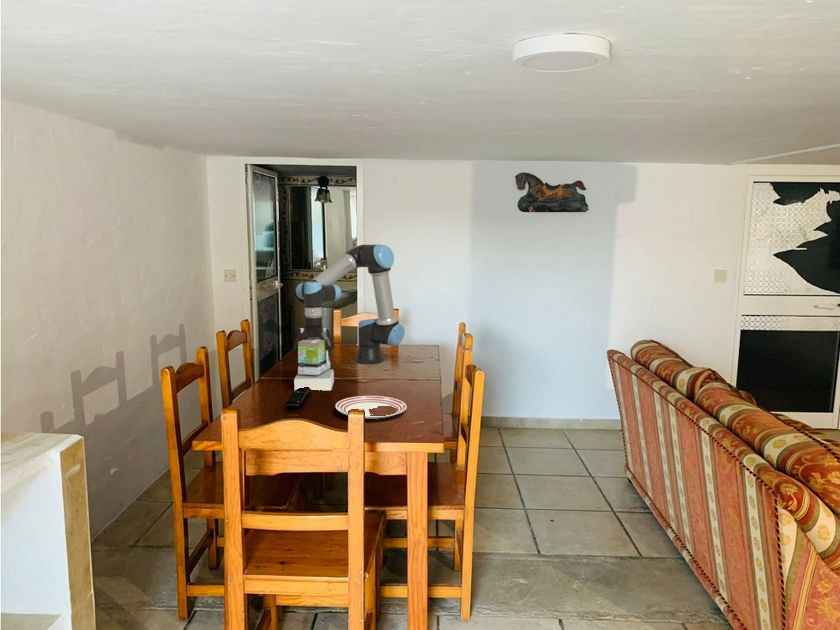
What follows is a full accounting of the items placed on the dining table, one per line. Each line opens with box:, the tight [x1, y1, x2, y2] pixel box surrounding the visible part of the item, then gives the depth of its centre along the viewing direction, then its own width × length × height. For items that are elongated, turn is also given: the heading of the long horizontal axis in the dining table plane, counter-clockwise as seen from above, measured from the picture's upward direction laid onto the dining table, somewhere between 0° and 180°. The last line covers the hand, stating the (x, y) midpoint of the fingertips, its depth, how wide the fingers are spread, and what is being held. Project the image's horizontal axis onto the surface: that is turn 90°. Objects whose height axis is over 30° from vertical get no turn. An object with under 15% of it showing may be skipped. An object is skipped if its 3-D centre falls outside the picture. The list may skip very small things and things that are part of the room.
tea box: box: [297, 336, 331, 375], centre depth 258 cm, size 15×10×15 cm, turn 169°
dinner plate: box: [334, 395, 408, 420], centre depth 221 cm, size 28×27×3 cm
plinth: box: [293, 368, 335, 392], centre depth 260 cm, size 16×16×6 cm
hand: (314, 364), depth 259 cm, fingers closed on tea box, 11 cm apart
